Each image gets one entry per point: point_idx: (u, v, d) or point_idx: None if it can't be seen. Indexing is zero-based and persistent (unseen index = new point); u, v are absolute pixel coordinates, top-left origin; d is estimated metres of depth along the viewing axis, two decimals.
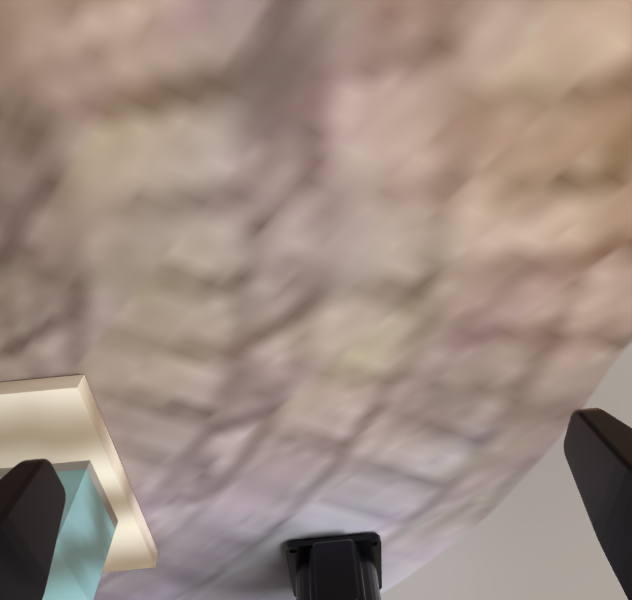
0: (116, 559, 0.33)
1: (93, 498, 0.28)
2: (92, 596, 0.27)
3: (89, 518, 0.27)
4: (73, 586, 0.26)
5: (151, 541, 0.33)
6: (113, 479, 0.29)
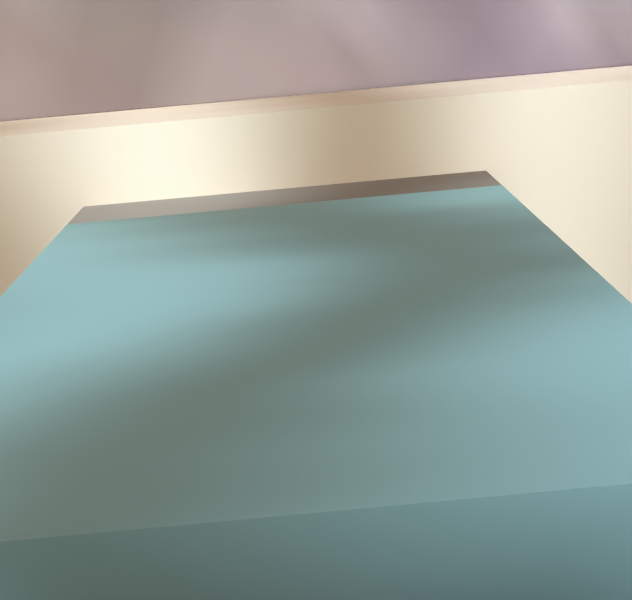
0: None
1: (204, 229, 0.06)
2: None
3: (228, 265, 0.05)
4: (446, 537, 0.03)
5: None
6: (200, 135, 0.06)
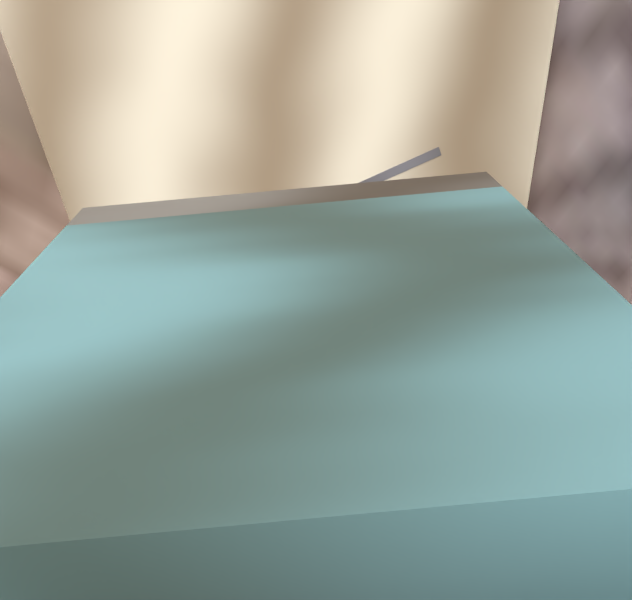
0: None
1: (203, 230, 0.06)
2: None
3: (228, 267, 0.05)
4: (447, 542, 0.03)
5: None
6: None
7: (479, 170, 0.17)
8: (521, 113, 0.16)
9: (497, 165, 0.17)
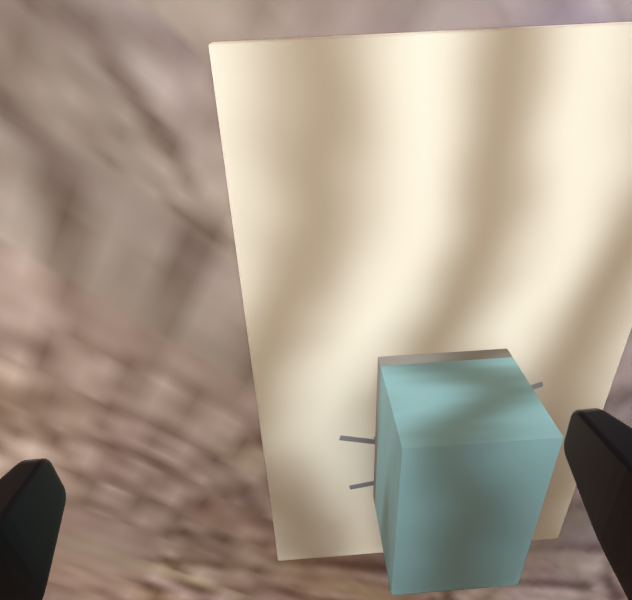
0: None
1: (427, 371, 0.20)
2: (552, 429, 0.17)
3: (443, 387, 0.19)
4: (507, 448, 0.17)
5: None
6: (444, 41, 0.15)
7: (569, 395, 0.23)
8: (604, 362, 0.22)
9: (582, 392, 0.23)
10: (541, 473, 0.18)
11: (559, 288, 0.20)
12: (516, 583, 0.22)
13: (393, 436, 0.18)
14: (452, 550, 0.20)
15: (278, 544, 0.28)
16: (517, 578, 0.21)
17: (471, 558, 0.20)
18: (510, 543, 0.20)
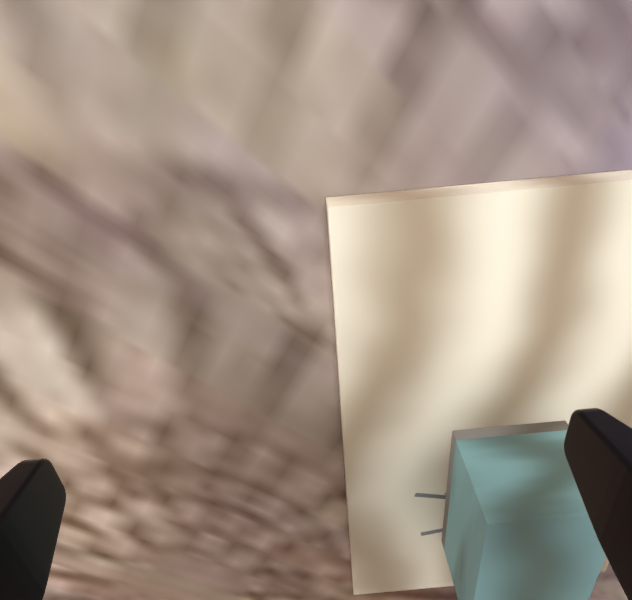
0: None
1: (497, 445, 0.23)
2: None
3: (513, 461, 0.23)
4: (575, 521, 0.20)
5: None
6: (521, 195, 0.18)
7: None
8: None
9: None
10: None
11: (612, 372, 0.23)
12: None
13: (474, 507, 0.22)
14: (523, 599, 0.23)
15: (355, 581, 0.31)
16: None
17: None
18: (574, 592, 0.23)
